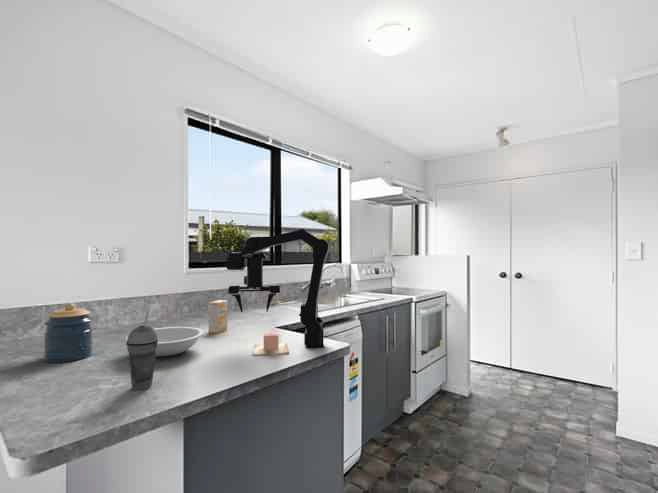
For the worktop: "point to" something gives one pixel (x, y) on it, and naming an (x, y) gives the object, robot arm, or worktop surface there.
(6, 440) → the worktop surface
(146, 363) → the beverage cup
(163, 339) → the soup bowl
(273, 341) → the coral cube
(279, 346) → the birch board
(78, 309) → the canister
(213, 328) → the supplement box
